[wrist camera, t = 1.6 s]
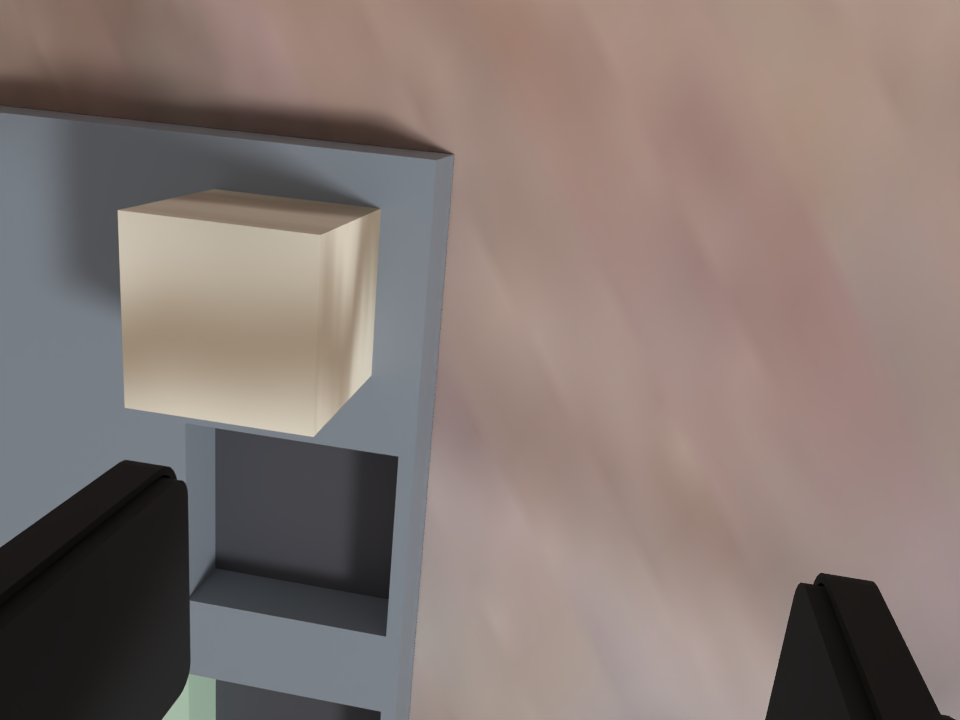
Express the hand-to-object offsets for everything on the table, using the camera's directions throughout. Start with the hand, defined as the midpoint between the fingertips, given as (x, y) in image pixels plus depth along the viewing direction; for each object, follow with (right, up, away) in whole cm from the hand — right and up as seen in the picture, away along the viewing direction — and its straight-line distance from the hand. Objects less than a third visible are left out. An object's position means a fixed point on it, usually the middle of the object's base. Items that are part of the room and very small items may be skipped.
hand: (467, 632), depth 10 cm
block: (-5, +5, +15) cm, 17 cm away
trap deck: (-10, -3, +21) cm, 24 cm away
